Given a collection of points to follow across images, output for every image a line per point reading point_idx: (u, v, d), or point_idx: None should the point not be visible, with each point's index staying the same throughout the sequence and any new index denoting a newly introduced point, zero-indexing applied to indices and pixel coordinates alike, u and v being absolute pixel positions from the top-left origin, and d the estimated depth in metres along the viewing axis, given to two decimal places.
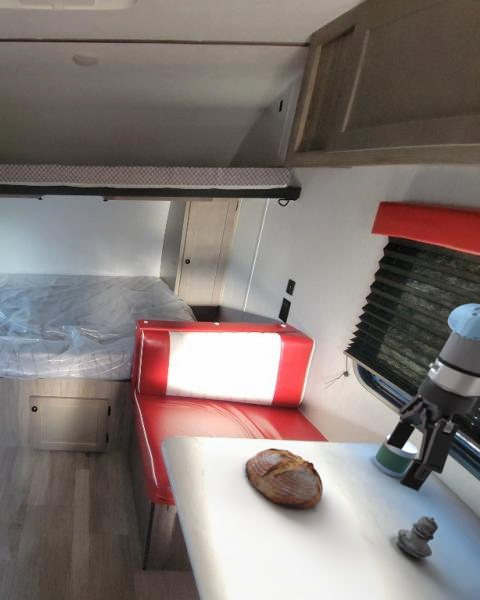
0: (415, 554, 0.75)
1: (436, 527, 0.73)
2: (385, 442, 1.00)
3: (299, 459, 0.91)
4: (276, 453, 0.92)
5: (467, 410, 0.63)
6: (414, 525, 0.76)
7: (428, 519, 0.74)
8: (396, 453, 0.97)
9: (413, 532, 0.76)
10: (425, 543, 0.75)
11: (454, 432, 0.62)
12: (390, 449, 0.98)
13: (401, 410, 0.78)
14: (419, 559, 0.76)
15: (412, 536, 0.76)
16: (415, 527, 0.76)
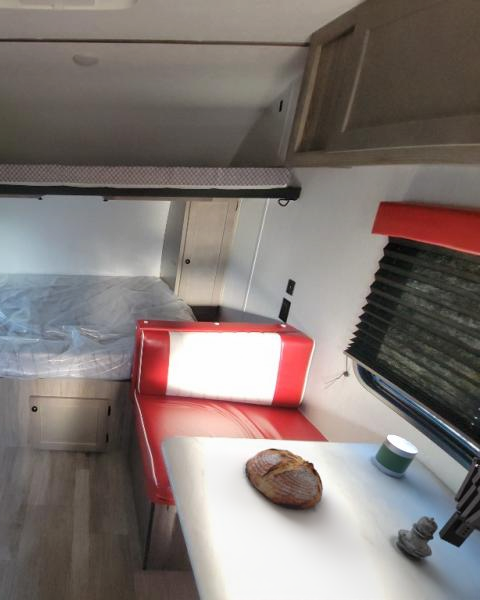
0: (415, 554, 0.75)
1: (436, 527, 0.73)
2: (385, 442, 1.00)
3: (299, 459, 0.91)
4: (276, 453, 0.92)
5: None
6: (414, 525, 0.76)
7: (428, 519, 0.74)
8: (396, 453, 0.97)
9: (413, 532, 0.76)
10: (425, 543, 0.75)
11: None
12: (390, 449, 0.98)
13: (458, 496, 0.66)
14: (419, 559, 0.76)
15: (412, 536, 0.76)
16: (415, 527, 0.76)
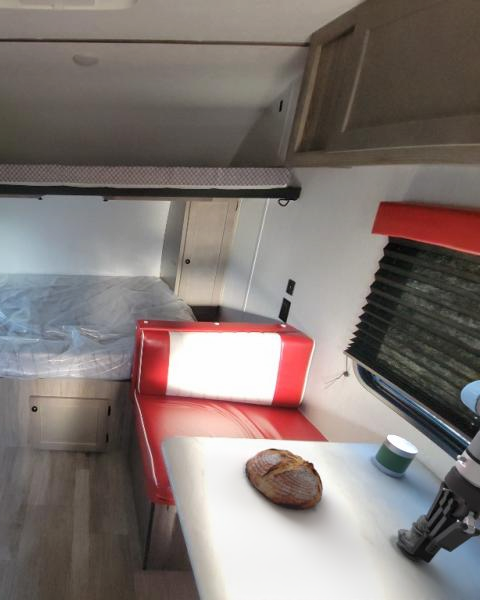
0: None
1: None
2: (385, 442, 1.00)
3: (299, 459, 0.91)
4: (276, 453, 0.92)
5: None
6: (414, 524, 0.77)
7: None
8: (396, 453, 0.97)
9: (412, 531, 0.76)
10: None
11: (473, 535, 0.63)
12: (390, 449, 0.98)
13: (428, 516, 0.73)
14: (419, 559, 0.76)
15: (412, 535, 0.76)
16: (414, 525, 0.76)
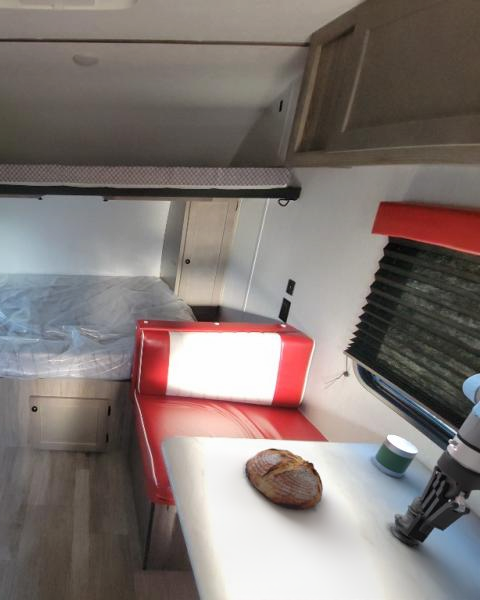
0: None
1: None
2: (385, 442, 1.00)
3: (299, 459, 0.91)
4: (276, 453, 0.92)
5: None
6: (409, 506, 0.81)
7: None
8: (396, 453, 0.97)
9: (408, 513, 0.80)
10: None
11: (464, 513, 0.67)
12: (390, 449, 0.98)
13: (422, 498, 0.77)
14: (416, 542, 0.80)
15: (408, 517, 0.80)
16: (410, 508, 0.80)
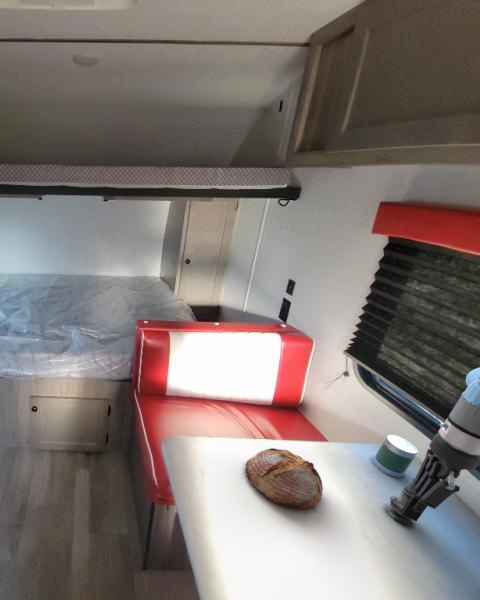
0: None
1: None
2: (385, 442, 1.00)
3: (299, 459, 0.91)
4: (276, 453, 0.92)
5: (473, 467, 0.72)
6: (403, 488, 0.86)
7: None
8: (396, 453, 0.97)
9: (403, 494, 0.85)
10: None
11: (453, 491, 0.72)
12: (390, 449, 0.98)
13: (416, 480, 0.82)
14: (410, 521, 0.85)
15: (403, 498, 0.85)
16: (404, 489, 0.85)
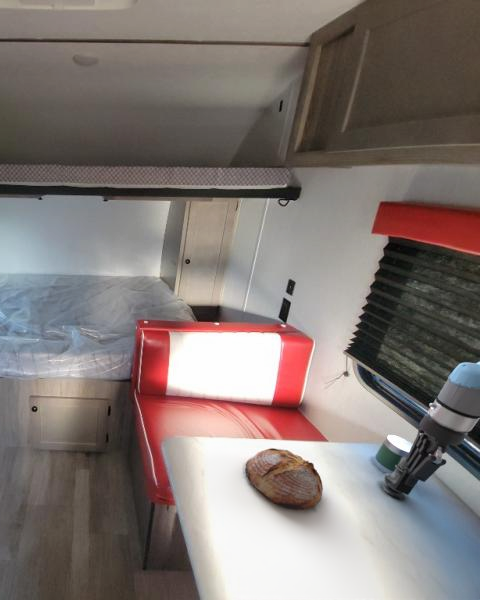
0: None
1: None
2: (385, 442, 1.00)
3: (299, 459, 0.91)
4: (276, 453, 0.92)
5: (459, 442, 0.79)
6: (396, 465, 0.93)
7: None
8: (396, 453, 0.97)
9: (396, 471, 0.92)
10: None
11: (441, 464, 0.79)
12: (390, 449, 0.98)
13: (408, 457, 0.90)
14: (402, 495, 0.92)
15: (396, 474, 0.92)
16: (397, 466, 0.92)
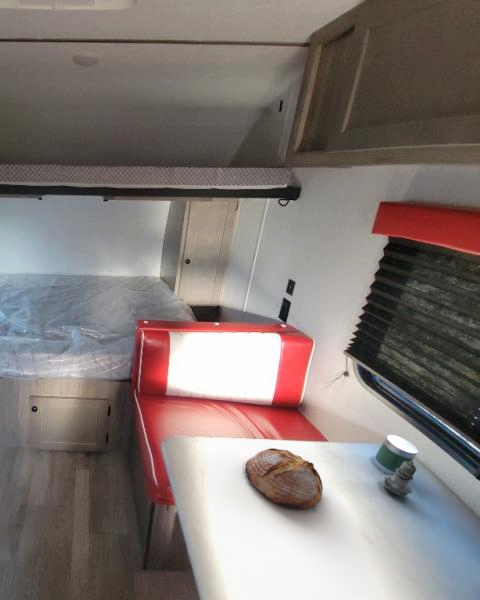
0: (398, 493, 0.91)
1: (415, 469, 0.89)
2: (385, 442, 1.00)
3: (299, 459, 0.91)
4: (276, 453, 0.92)
5: None
6: (397, 469, 0.92)
7: (408, 463, 0.90)
8: (396, 453, 0.97)
9: (396, 475, 0.92)
10: (406, 483, 0.90)
11: None
12: (390, 449, 0.98)
13: None
14: (401, 497, 0.92)
15: (396, 478, 0.91)
16: (398, 470, 0.91)
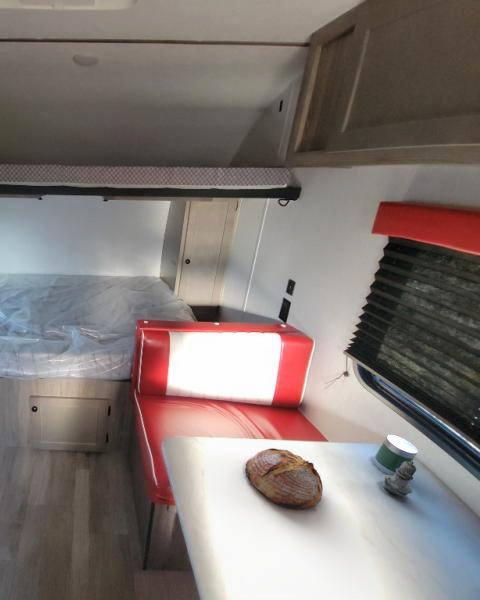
0: (398, 493, 0.91)
1: (415, 469, 0.89)
2: (385, 442, 1.00)
3: (299, 459, 0.91)
4: (276, 453, 0.92)
5: None
6: (397, 469, 0.92)
7: (408, 463, 0.90)
8: (396, 453, 0.97)
9: (396, 475, 0.92)
10: (406, 483, 0.90)
11: None
12: (390, 449, 0.98)
13: None
14: (401, 497, 0.92)
15: (396, 478, 0.91)
16: (398, 470, 0.91)
